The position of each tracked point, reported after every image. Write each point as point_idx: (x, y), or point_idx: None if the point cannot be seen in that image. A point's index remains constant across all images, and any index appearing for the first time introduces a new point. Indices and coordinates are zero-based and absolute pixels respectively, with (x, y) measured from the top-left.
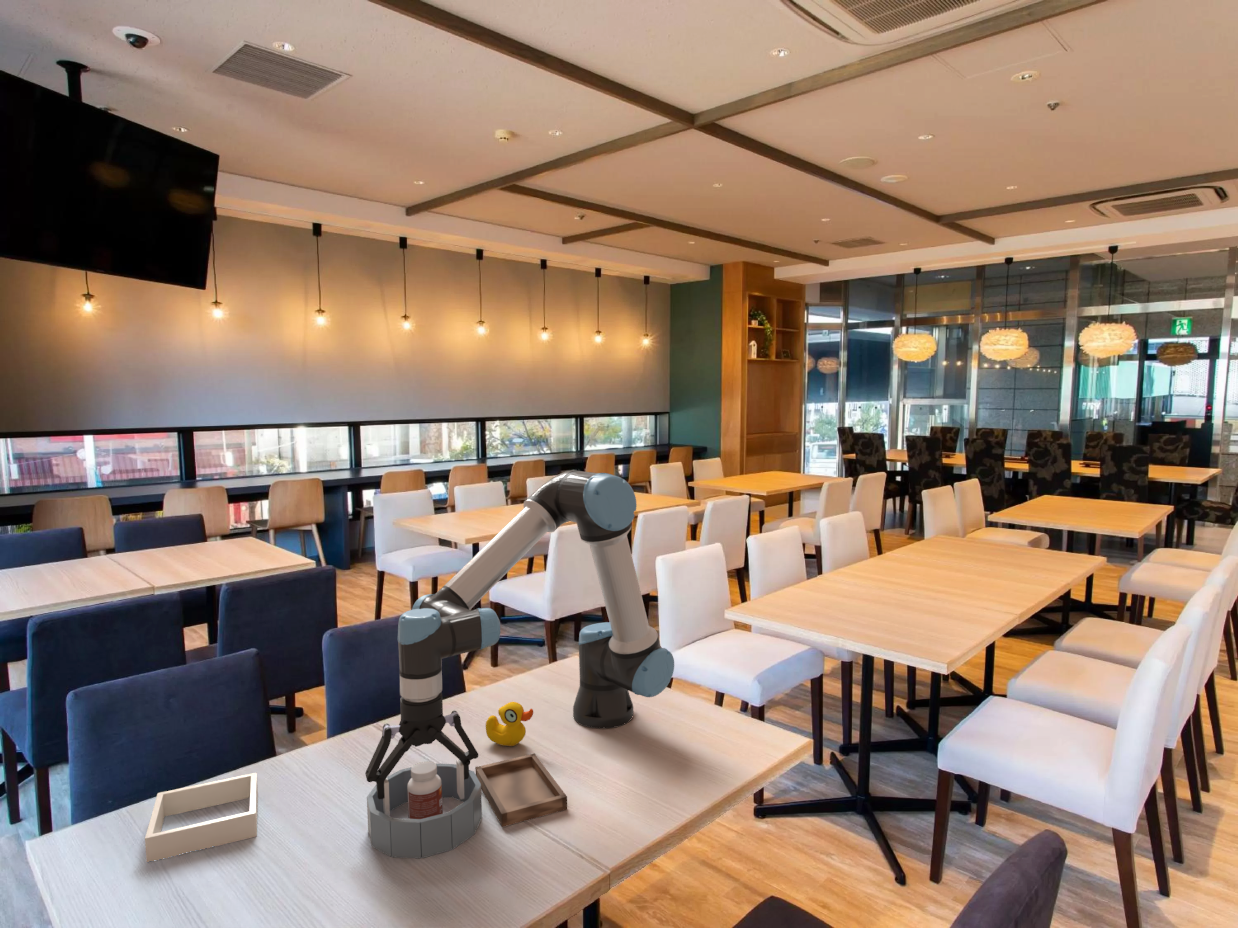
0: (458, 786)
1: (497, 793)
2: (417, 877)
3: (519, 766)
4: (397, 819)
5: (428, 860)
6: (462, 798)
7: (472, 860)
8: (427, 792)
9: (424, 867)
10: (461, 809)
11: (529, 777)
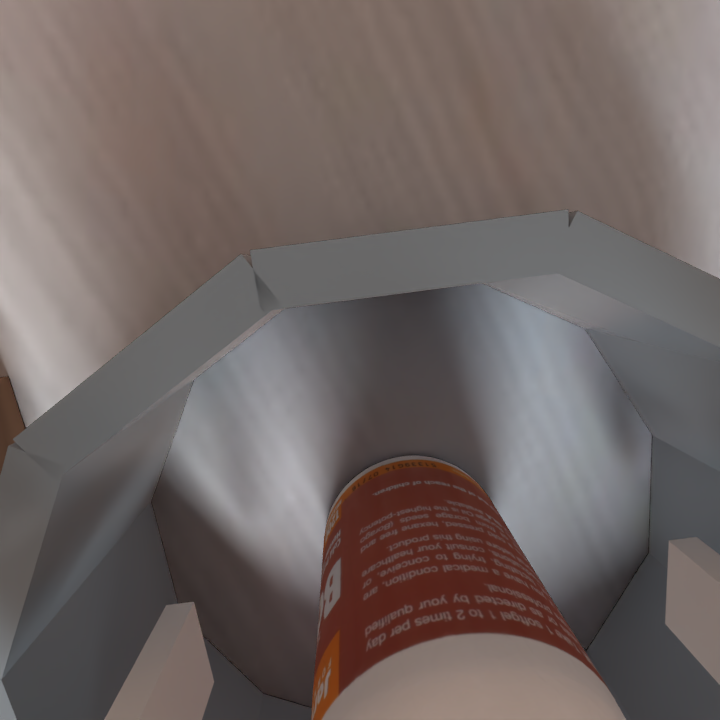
0: (178, 713)
1: None
2: (503, 60)
3: None
4: None
5: (428, 203)
6: (179, 605)
7: (187, 110)
8: (463, 646)
9: (455, 144)
10: (143, 338)
11: None
